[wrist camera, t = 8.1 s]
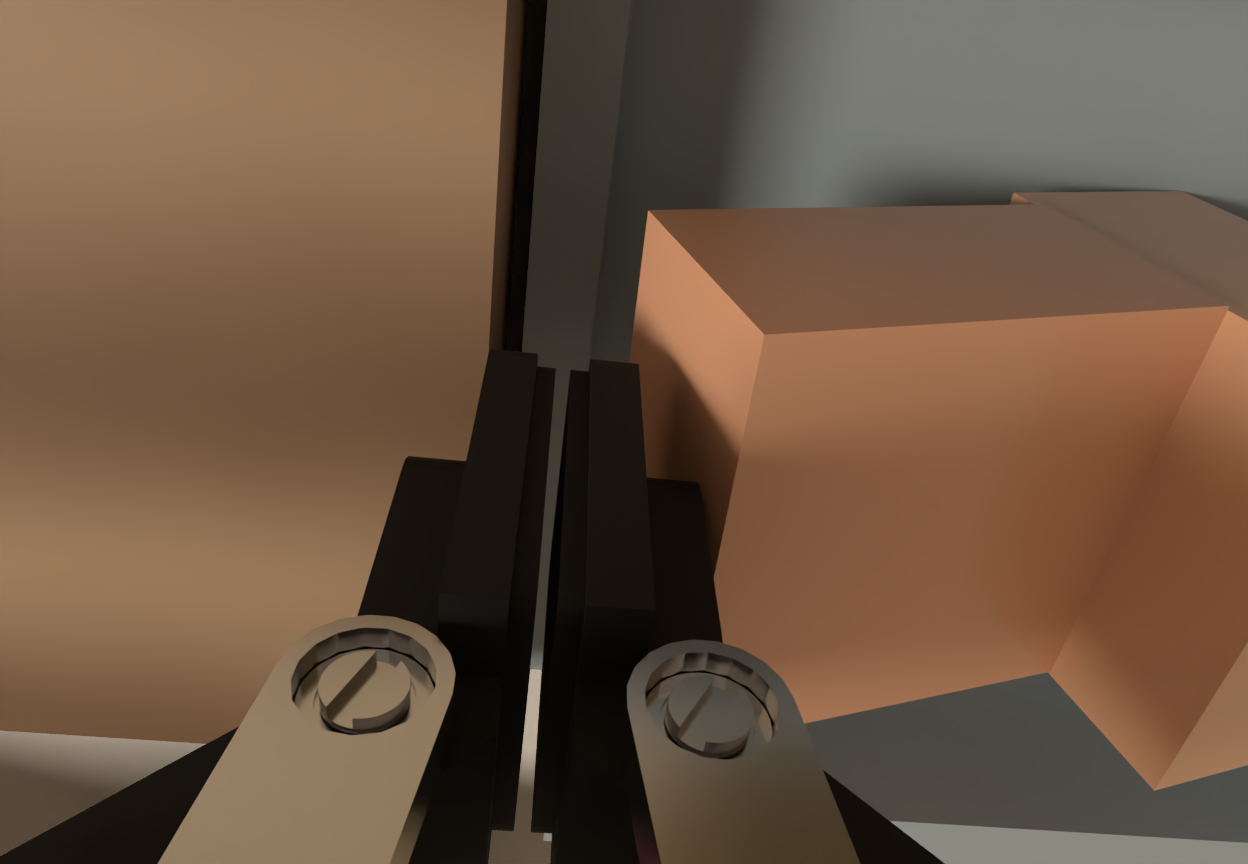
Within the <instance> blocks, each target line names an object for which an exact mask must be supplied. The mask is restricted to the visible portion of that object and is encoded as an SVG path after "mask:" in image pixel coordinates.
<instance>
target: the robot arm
mask: <svg viewBox="0 0 1248 864" xmlns="http://www.w3.org/2000/svg"><path fill="white" fill-rule="evenodd" d="M537 362H538V354H536V353H526V352H516V351H506V350H496V349H490V350H489V353H488V358H487V363H486V368H485V372H484V377H483V382H482V387H481V392H480V397H479V401H478V406H477V411H476V416H475V421H474V426H473V430H472V435H471V440H470V445H469V450H468V454H467V459H466V461H458V460H447V459H436V458H425V457H414V456H408V457H407V458H406V459H405V461H404V464H403V466H402V470H401V473H400V476H399V480H398V483H397V486H396V490H395V493H394V496H393V499H392V503H391V506H390V509H389V513H388V516H387V519H386V523H385V526H384V529H383V533H382V536H381V539H380V542H379V546H378V549H377V552H376V556H375V559H374V562H373V566H372V569H371V572H370V576H369V579H368V582H367V585H366V589H365V592H364V595H363V599H362V602H361V605H360V609H359V612H358V615H357V616H356V617H349V618H342V619H339V620H336V621H333V622H331V623H328V624H325V625H323V626H320V627H317V628H315V629H313V630H312V631H311V632H309V633H308V634H306V635H305V636H303V637H302V638H300V639H299V640H297V641H296V642H294V643H293V644H292V645H291V647H290V648H289V649H288V650H287V651H286V653H285V654H284V655H283V656H282V657H281V659H280V660H279V661H278V662H277V664H276V666H275V667H274V669H273V671H272V672H271V674H270V676H269V677H268V679H267V681H266V682H265V684H264V686H263V687H262V689H261V691H260V693H259V694H258V696H257V698H256V699H255V701H254V703H253V704H252V706H251V708H250V709H249V711H248V713H247V714H246V716H245V718H244V719H243V721H242V723H241V724H240V726H239V727H237V728H235V729H233V730H231V731H230V732H228V733H226V734H224V735H222V736H220V737H219V738H217V739H215V740H213V741H211V742H209V743H208V744H206V745H204V746H202V747H200V748H198V749H197V750H195V751H193V752H191V753H189V754H187V755H186V756H184V757H182V758H180V759H178V760H176V761H174V762H173V763H171V764H169V765H167V766H165V767H163V768H162V769H160V770H158V771H156V772H154V773H152V774H151V775H149V776H147V777H145V778H143V779H141V780H140V781H138V782H136V783H134V784H132V785H130V786H129V787H127V788H125V789H123V790H121V791H119V792H118V793H116V794H114V795H112V796H110V797H108V798H107V799H105V800H103V801H101V802H99V803H97V804H96V805H94V806H92V807H90V808H88V809H86V810H85V811H83V812H81V813H79V814H77V815H75V816H74V817H72V818H70V819H68V820H66V821H64V822H63V823H61V824H59V825H57V826H55V827H53V828H52V829H50V830H48V831H46V832H44V833H42V834H41V835H39V836H37V837H35V838H33V839H31V840H30V841H28V842H26V843H24V844H22V845H20V846H19V847H17V848H15V849H13V850H11V851H9V852H8V853H6V854H4V855H2V856H0V864H488V859H489V849H490V840H491V831H492V830H503V831H514V823H515V813H516V803H517V793H518V783H519V773H520V763H521V753H522V743H523V734H524V724H525V714H526V704H527V694H528V684H529V674H530V664H531V654H532V645H533V635H534V625H535V614H536V603H537V592H538V581H539V569H540V557H541V545H542V532H543V520H544V508H545V496H546V483H547V471H548V459H549V447H550V435H551V422H552V410H553V398H554V386H555V374H556V368H549V367H539V366H537ZM531 832H535V833H552V843H551V864H945V863H943V862H942V861H941V860H940V859H938V858H937V857H936V856H934V855H933V854H932V853H931V852H929V851H928V850H927V849H925V848H924V847H923V846H921V845H920V844H919V843H918V842H916V841H915V840H914V839H912V838H911V837H910V836H908V835H907V834H906V833H905V832H903V831H902V830H901V829H899V828H898V827H897V826H895V825H894V824H893V823H892V822H890V821H889V820H888V819H886V818H885V817H884V816H883V815H881V814H880V813H879V812H877V811H876V810H875V809H873V808H872V807H871V806H870V805H868V804H867V803H866V802H864V801H863V800H862V799H860V798H859V797H858V796H857V795H855V794H854V793H853V792H851V791H850V790H849V789H848V788H846V787H845V786H844V785H842V784H841V783H840V782H838V781H837V780H836V779H835V778H833V777H832V776H831V775H829V774H828V773H827V772H825V771H824V770H823V769H822V766H821V764H820V761H819V759H818V756H817V754H816V751H815V749H814V746H813V744H812V741H811V739H810V736H809V734H808V731H807V729H806V726H805V724H804V721H803V719H802V717H801V714H800V712H799V709H798V707H797V704H796V702H795V699H794V697H793V696H792V694H791V692H790V691H789V689H788V687H787V686H786V684H785V682H784V681H783V679H782V678H781V677H780V676H779V675H778V674H777V673H776V672H775V671H774V670H773V669H772V668H770V667H769V666H768V665H767V664H766V663H765V662H764V661H762V660H760V659H759V658H757V657H755V656H753V655H752V654H750V653H748V652H746V651H745V650H743V649H740V648H737V647H734V646H731V645H727V644H724V643H723V639H722V632H721V625H720V618H719V611H718V604H717V597H716V591H715V584H714V577H713V570H712V563H711V556H710V549H709V543H708V536H707V529H706V522H705V515H704V508H703V501H702V494H701V490H700V486H699V484H698V483H697V482H691V481H680V480H669V479H657V478H647V476H646V461H645V446H644V431H643V416H642V401H641V387H640V372H639V364H636V363H626V362H616V361H606V360H596V359H591V360H590V365H589V371H579V370H571V371H570V378H569V387H568V396H567V406H566V415H565V424H564V434H563V443H562V452H561V462H560V471H559V480H558V489H557V499H556V508H555V517H554V527H553V536H552V545H551V555H550V565H549V576H548V590H547V604H546V619H545V633H544V648H543V662H542V677H541V691H540V706H539V720H538V735H537V749H536V764H535V778H534V793H533V807H532V822H531Z"/></svg>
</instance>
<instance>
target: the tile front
mask: <svg viewBox="0 0 1248 864" xmlns="http://www.w3.org/2000/svg"><path fill="white" fill-rule="evenodd" d="M1229 307H1230V306H1229V305H1227V304H1226V303H1224V302H1222V301H1220V300H1218V299H1216V298H1215V297H1213V296H1211V295H1209V294H1207V293H1205V292H1204V291H1202V290H1200V289H1198V288H1196V287H1194V286H1193V285H1191V284H1189V283H1187V282H1185V281H1183V280H1182V279H1180V278H1178V277H1176V276H1174V275H1172V274H1171V273H1169V272H1167V271H1165V270H1163V269H1161V268H1160V267H1158V266H1156V265H1154V264H1152V263H1150V262H1149V261H1147V260H1145V259H1143V258H1141V257H1139V256H1138V255H1136V254H1134V253H1132V252H1130V251H1128V250H1127V249H1125V248H1123V247H1121V246H1119V245H1117V244H1116V243H1114V242H1112V241H1110V240H1108V239H1106V238H1105V237H1103V236H1101V235H1099V234H1097V233H1095V232H1094V231H1092V230H1090V229H1088V228H1086V227H1084V226H1083V225H1081V224H1079V223H1077V222H1075V221H1073V220H1072V219H1070V218H1068V217H1066V216H1064V215H1062V214H1061V213H1059V212H1057V211H1055V210H1053V209H1051V208H1050V207H1048V206H1046V205H1044V204H1027V205H958V206H890V207H821V208H753V209H685V210H648V215H647V223H646V231H645V239H644V247H643V255H642V263H641V271H640V279H639V287H638V295H637V303H636V311H635V319H634V327H633V335H632V343H631V351H630V359H629V363H636V364H639V372H640V387H641V401H642V416H643V431H644V446H645V461H646V476H647V478H657V479H669V480H680V481H691V482H697V483H698V484H699V486H700V490H701V494H702V501H703V508H704V515H705V522H706V529H707V536H708V543H709V549H710V556H711V563H712V570H713V577H714V584H715V591H716V597H717V604H718V611H719V618H720V625H721V632H722V639H723V643H724V644H727V645H731V646H734V647H737V648H740V649H743V650H745V651H746V652H748V653H750V654H752V655H753V656H755V657H757V658H759V659H760V660H762V661H764V662H765V663H766V664H767V665H768V666H769V667H770V668H772V669H773V670H774V671H775V672H776V673H777V674H778V675H779V676H780V677H781V678H782V679H783V681H784V682H785V684H786V686H787V687H788V689H789V691H790V692H791V694H792V696H793V697H794V699H795V702H796V704H797V707H798V709H799V712H800V714H801V717H802V719H803V721H804V724H805V723H810V722H814V721H819V720H824V719H829V718H833V717H838V716H843V715H847V714H852V713H857V712H862V711H866V710H871V709H876V708H881V707H885V706H890V705H895V704H900V703H904V702H909V701H914V700H919V699H923V698H928V697H933V696H937V695H942V694H947V693H952V692H956V691H961V690H966V689H971V688H975V687H980V686H985V685H990V684H994V683H999V682H1004V681H1009V680H1013V679H1018V678H1023V677H1028V676H1032V675H1037V674H1042V673H1046V672H1051V670H1052V668H1053V666H1054V664H1055V662H1056V660H1057V658H1058V656H1059V654H1060V652H1061V649H1062V647H1063V645H1064V643H1065V641H1066V639H1067V637H1068V635H1069V633H1070V631H1071V629H1072V627H1073V625H1074V623H1075V621H1076V619H1077V617H1078V615H1079V613H1080V611H1081V609H1082V607H1083V605H1084V603H1085V600H1086V598H1087V596H1088V594H1089V592H1090V590H1091V588H1092V586H1093V584H1094V582H1095V580H1096V578H1097V576H1098V574H1099V572H1100V570H1101V568H1102V566H1103V564H1104V562H1105V560H1106V558H1107V556H1108V554H1109V552H1110V549H1111V547H1112V545H1113V543H1114V541H1115V539H1116V537H1117V535H1118V533H1119V531H1120V529H1121V527H1122V525H1123V523H1124V521H1125V519H1126V517H1127V515H1128V513H1129V511H1130V509H1131V507H1132V505H1133V503H1134V500H1135V498H1136V496H1137V494H1138V492H1139V490H1140V488H1141V486H1142V484H1143V482H1144V480H1145V478H1146V476H1147V474H1148V472H1149V470H1150V468H1151V466H1152V464H1153V462H1154V460H1155V458H1156V456H1157V454H1158V452H1159V449H1160V447H1161V445H1162V443H1163V441H1164V439H1165V437H1166V435H1167V433H1168V431H1169V429H1170V427H1171V425H1172V423H1173V421H1174V419H1175V417H1176V415H1177V413H1178V411H1179V409H1180V407H1181V405H1182V403H1183V400H1184V398H1185V396H1186V394H1187V392H1188V390H1189V388H1190V386H1191V384H1192V382H1193V380H1194V378H1195V376H1196V374H1197V372H1198V370H1199V368H1200V366H1201V364H1202V362H1203V360H1204V358H1205V356H1206V354H1207V352H1208V349H1209V347H1210V345H1211V343H1212V341H1213V339H1214V337H1215V335H1216V333H1217V331H1218V329H1219V327H1220V325H1221V323H1222V321H1223V319H1224V317H1225V315H1226V313H1227V311H1228V309H1229Z"/></svg>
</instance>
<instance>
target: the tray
mask: <svg viewBox="0 0 1248 864" xmlns="http://www.w3.org/2000/svg"><path fill="white" fill-rule="evenodd" d="M1123 191H1183V192H1185V193H1187V194H1189V195H1191V196H1194V197H1196V198H1198V199H1200V200H1202V201H1205V202H1207V203H1209V204H1211V205H1214V206H1216V207H1218V208H1220V209H1222V210H1225V211H1227V212H1229V213H1231V214H1234V215H1236V216H1238V217H1240V218H1242V219H1245V220H1247V221H1248V0H548V3H547V16H546V30H545V44H544V57H543V71H542V85H541V98H540V112H539V125H538V139H537V153H536V166H535V180H534V194H533V207H532V221H531V235H530V248H529V262H528V275H527V289H526V303H525V316H524V330H523V344H522V352H526V353H536V354H538V362H537V366H539V367H549V368H556V374H555V386H554V398H553V410H552V422H551V435H550V447H549V459H548V471H547V483H546V496H545V508H544V520H543V532H542V545H541V557H540V569H539V581H538V592H537V603H536V614H535V625H534V635H533V645H532V654H531V664H530V669H538V670H542V662H543V648H544V633H545V619H546V604H547V590H548V576H549V565H550V555H551V545H552V536H553V527H554V517H555V508H556V499H557V489H558V480H559V471H560V462H561V452H562V443H563V434H564V424H565V415H566V406H567V396H568V387H569V378H570V371H571V370H579V371H589V365H590V360H591V359H596V360H606V361H616V362H626V363H629V359H630V351H631V343H632V335H633V327H634V319H635V311H636V303H637V295H638V287H639V279H640V271H641V263H642V255H643V247H644V239H645V231H646V223H647V215H648V210H685V209H753V208H821V207H890V206H958V205H1009V204H1010V201H1011V198H1012V195H1013V193H1022V192H1123ZM805 726H806V729H807V731H808V734H809V736H810V739H811V741H812V744H813V746H814V749H815V751H816V754H817V756H818V759H819V761H820V764H821V766H822V769H823V770H824V771H825V772H827V773H828V774H829V775H831V776H832V777H833V778H835V779H836V780H837V781H838V782H840V783H841V784H842V785H844V786H845V787H846V788H848V789H849V790H850V791H851V792H853V793H854V794H855V795H857V796H858V797H859V798H860V799H862V800H863V801H864V802H866V803H867V804H868V805H870V806H871V807H872V808H873V809H875V810H876V811H877V812H879V813H880V814H881V815H883V816H884V817H885V818H886V819H888V820H889V821H890V822H892V823H893V824H894V825H895V826H897V827H898V828H899V829H901V830H902V831H903V832H905V833H906V834H907V835H908V836H910V837H911V838H912V839H914V840H915V841H916V842H918V843H919V844H920V845H921V846H923V847H924V848H925V849H927V850H928V851H929V852H931V853H932V854H933V855H934V856H936V857H937V858H938V859H940V860H941V861H942V862H943V863H945V864H1248V765H1246V766H1243V767H1239V768H1235V769H1232V770H1228V771H1224V772H1221V773H1217V774H1214V775H1210V776H1206V777H1203V778H1199V779H1195V780H1192V781H1188V782H1184V783H1181V784H1177V785H1173V786H1170V787H1166V788H1162V789H1159V790H1155V791H1154V790H1153V789H1152V788H1151V787H1150V785H1149V784H1148V783H1147V782H1146V781H1145V780H1144V779H1143V778H1142V777H1141V775H1140V774H1139V773H1138V772H1137V771H1136V770H1135V769H1134V768H1133V767H1132V765H1131V764H1130V763H1129V762H1128V761H1127V760H1126V759H1125V758H1124V757H1123V755H1122V754H1121V753H1120V752H1119V751H1118V750H1117V749H1116V748H1115V747H1114V745H1113V744H1112V743H1111V742H1110V741H1109V740H1108V739H1107V738H1106V737H1105V735H1104V734H1103V733H1102V732H1101V731H1100V730H1099V729H1098V728H1097V727H1096V725H1095V724H1094V723H1093V722H1092V721H1091V720H1090V719H1089V718H1088V717H1087V715H1086V714H1085V713H1084V712H1083V711H1082V710H1081V709H1080V708H1079V707H1078V705H1077V704H1076V703H1075V702H1074V701H1073V700H1072V699H1071V698H1070V697H1069V695H1068V694H1067V693H1066V692H1065V691H1064V690H1063V689H1062V688H1061V687H1060V685H1059V684H1058V683H1057V682H1056V681H1055V680H1054V679H1053V678H1052V677H1051V675H1050V674H1049V673H1048V672H1046V673H1042V674H1037V675H1032V676H1028V677H1023V678H1018V679H1013V680H1009V681H1004V682H999V683H994V684H990V685H985V686H980V687H975V688H971V689H966V690H961V691H956V692H952V693H947V694H942V695H937V696H933V697H928V698H923V699H919V700H914V701H909V702H904V703H900V704H895V705H890V706H885V707H881V708H876V709H871V710H866V711H862V712H857V713H852V714H847V715H843V716H838V717H833V718H829V719H824V720H819V721H814V722H810V723H805ZM543 841H552V833H544V837H543Z"/></svg>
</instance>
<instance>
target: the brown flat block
mask: <svg viewBox="0 0 1248 864" xmlns="http://www.w3.org/2000/svg"><path fill="white" fill-rule="evenodd" d="M528 12H529V0H0V730H3V731H18V732H34V733H49V734H65V735H80V736H96V737H111V738H127V739H142V740H158V741H173V742H189V743H204V744H208V743H209V742H211V741H213V740H215V739H217V738H219V737H220V736H222V735H224V734H226V733H228V732H230V731H231V730H233V729H235V728H237V727H239V726H240V724H241V723H242V721H243V719H244V718H245V716H246V714H247V713H248V711H249V709H250V708H251V706H252V704H253V703H254V701H255V699H256V698H257V696H258V694H259V693H260V691H261V689H262V687H263V686H264V684H265V682H266V681H267V679H268V677H269V676H270V674H271V672H272V671H273V669H274V667H275V666H276V664H277V662H278V661H279V660H280V659H281V657H282V656H283V655H284V654H285V653H286V651H287V650H288V649H289V648H290V647H291V645H292V644H293V643H294V642H296V641H297V640H299V639H300V638H302V637H303V636H305V635H306V634H308V633H309V632H311V631H312V630H313V629H315V628H317V627H320V626H323V625H325V624H328V623H331V622H333V621H336V620H339V619H342V618H349V617H356V616H357V615H358V612H359V609H360V605H361V602H362V599H363V595H364V592H365V589H366V585H367V582H368V579H369V576H370V572H371V569H372V566H373V562H374V559H375V556H376V552H377V549H378V546H379V542H380V539H381V536H382V533H383V529H384V526H385V523H386V519H387V516H388V513H389V509H390V506H391V503H392V499H393V496H394V493H395V490H396V486H397V483H398V480H399V476H400V473H401V470H402V466H403V464H404V461H405V459H406V458H407V457H408V456H414V457H425V458H436V459H447V460H458V461H466V459H467V454H468V450H469V445H470V440H471V435H472V430H473V426H474V421H475V416H476V411H477V406H478V401H479V397H480V392H481V387H482V382H483V377H484V372H485V368H486V363H487V358H488V353H489V350H490V349H496V350H506V351H507V341H508V325H509V310H510V294H511V279H512V263H513V247H514V232H515V216H516V200H517V185H518V169H519V153H520V138H521V122H522V106H523V91H524V75H525V59H526V44H527V28H528Z"/></svg>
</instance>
